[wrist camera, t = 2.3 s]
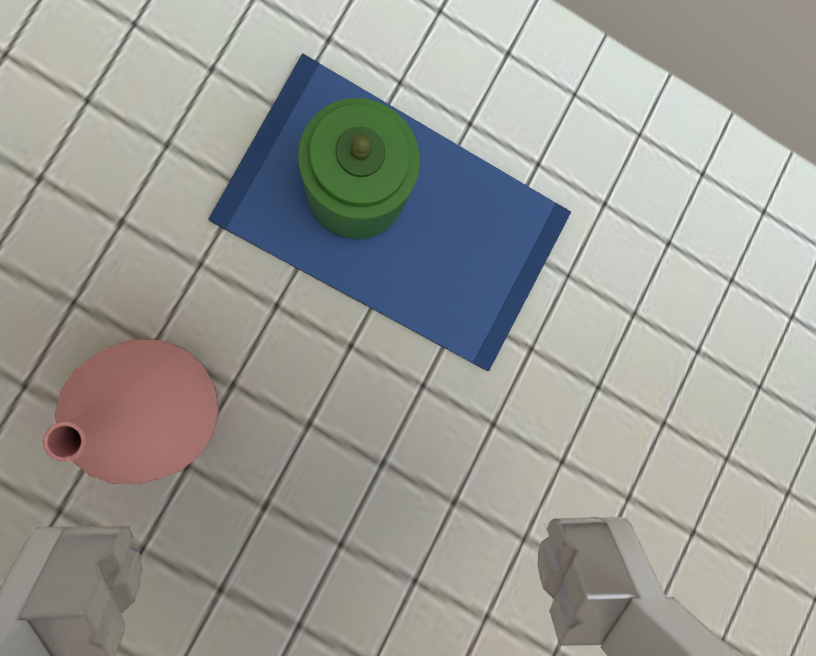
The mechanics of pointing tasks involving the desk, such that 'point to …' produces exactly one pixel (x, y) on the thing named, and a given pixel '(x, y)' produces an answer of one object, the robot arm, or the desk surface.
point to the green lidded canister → (358, 166)
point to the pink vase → (134, 413)
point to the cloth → (400, 227)
